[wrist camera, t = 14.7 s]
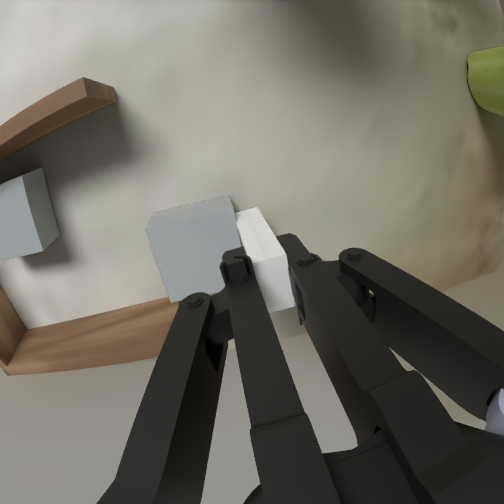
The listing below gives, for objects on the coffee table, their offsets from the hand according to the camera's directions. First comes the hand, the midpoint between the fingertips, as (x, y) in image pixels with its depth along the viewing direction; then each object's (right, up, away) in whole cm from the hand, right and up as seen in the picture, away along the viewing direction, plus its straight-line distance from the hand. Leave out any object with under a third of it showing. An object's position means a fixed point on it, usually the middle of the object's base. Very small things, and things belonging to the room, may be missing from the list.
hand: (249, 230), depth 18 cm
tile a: (-16, +2, -2) cm, 16 cm away
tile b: (-3, 0, +1) cm, 4 cm away
